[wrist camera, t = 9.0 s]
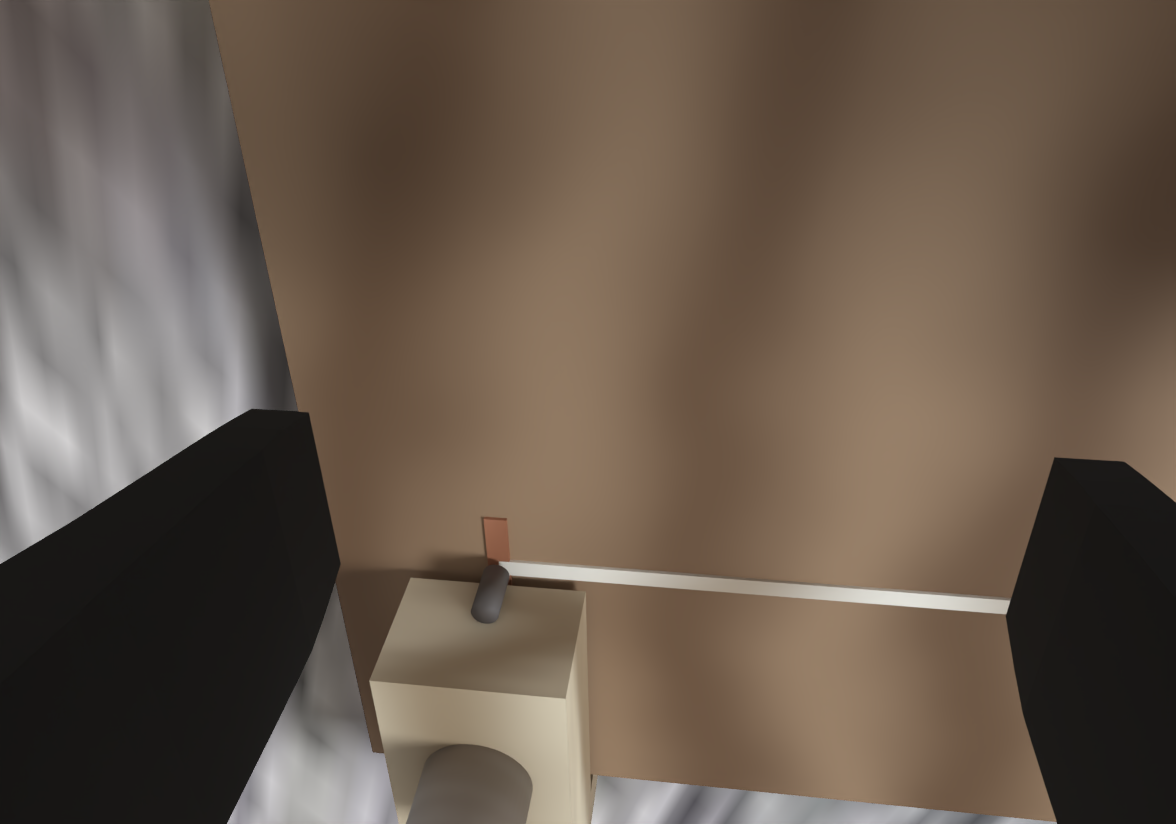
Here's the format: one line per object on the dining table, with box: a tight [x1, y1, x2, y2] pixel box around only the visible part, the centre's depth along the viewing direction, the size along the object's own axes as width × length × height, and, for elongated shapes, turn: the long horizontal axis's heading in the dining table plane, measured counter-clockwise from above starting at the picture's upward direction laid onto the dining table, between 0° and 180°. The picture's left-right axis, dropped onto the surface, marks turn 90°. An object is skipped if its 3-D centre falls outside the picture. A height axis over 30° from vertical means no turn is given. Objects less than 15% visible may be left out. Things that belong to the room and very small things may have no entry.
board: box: [209, 0, 1176, 822], centre depth 21 cm, size 18×20×2 cm
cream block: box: [369, 565, 598, 824], centre depth 22 cm, size 4×9×10 cm, turn 1°
